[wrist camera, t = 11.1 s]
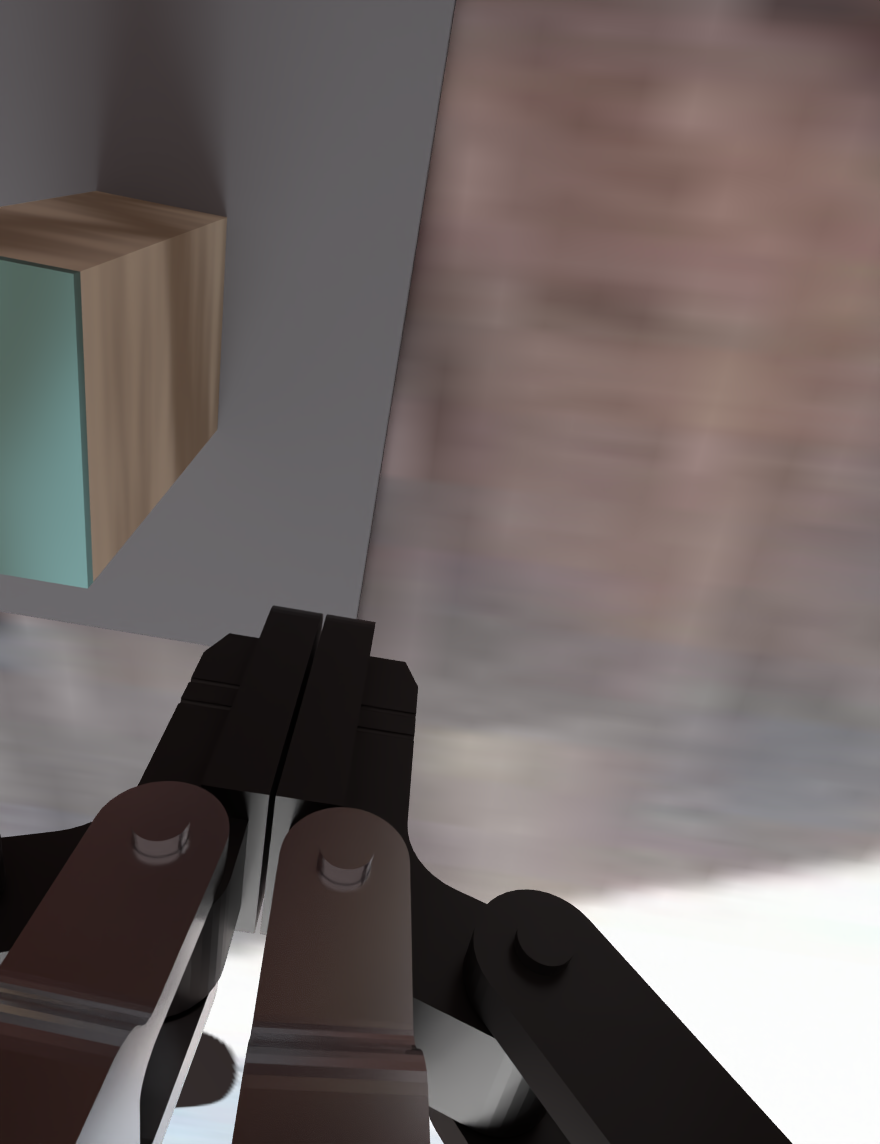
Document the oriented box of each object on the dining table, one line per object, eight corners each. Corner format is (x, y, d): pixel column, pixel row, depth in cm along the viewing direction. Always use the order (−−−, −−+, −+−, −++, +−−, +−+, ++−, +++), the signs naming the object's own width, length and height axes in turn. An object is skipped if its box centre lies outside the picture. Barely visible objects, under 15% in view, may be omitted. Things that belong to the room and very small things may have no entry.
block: (227, 217, 24) (73, 273, 15) (217, 429, 28) (88, 588, 18) (96, 190, 24) (-148, 231, 14) (103, 408, 27) (-90, 558, 18)
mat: (475, -125, 21) (476, -136, 20) (351, 654, 33) (348, 668, 33) (-396, -334, 19) (-436, -355, 18) (-180, 566, 32) (-198, 579, 31)
